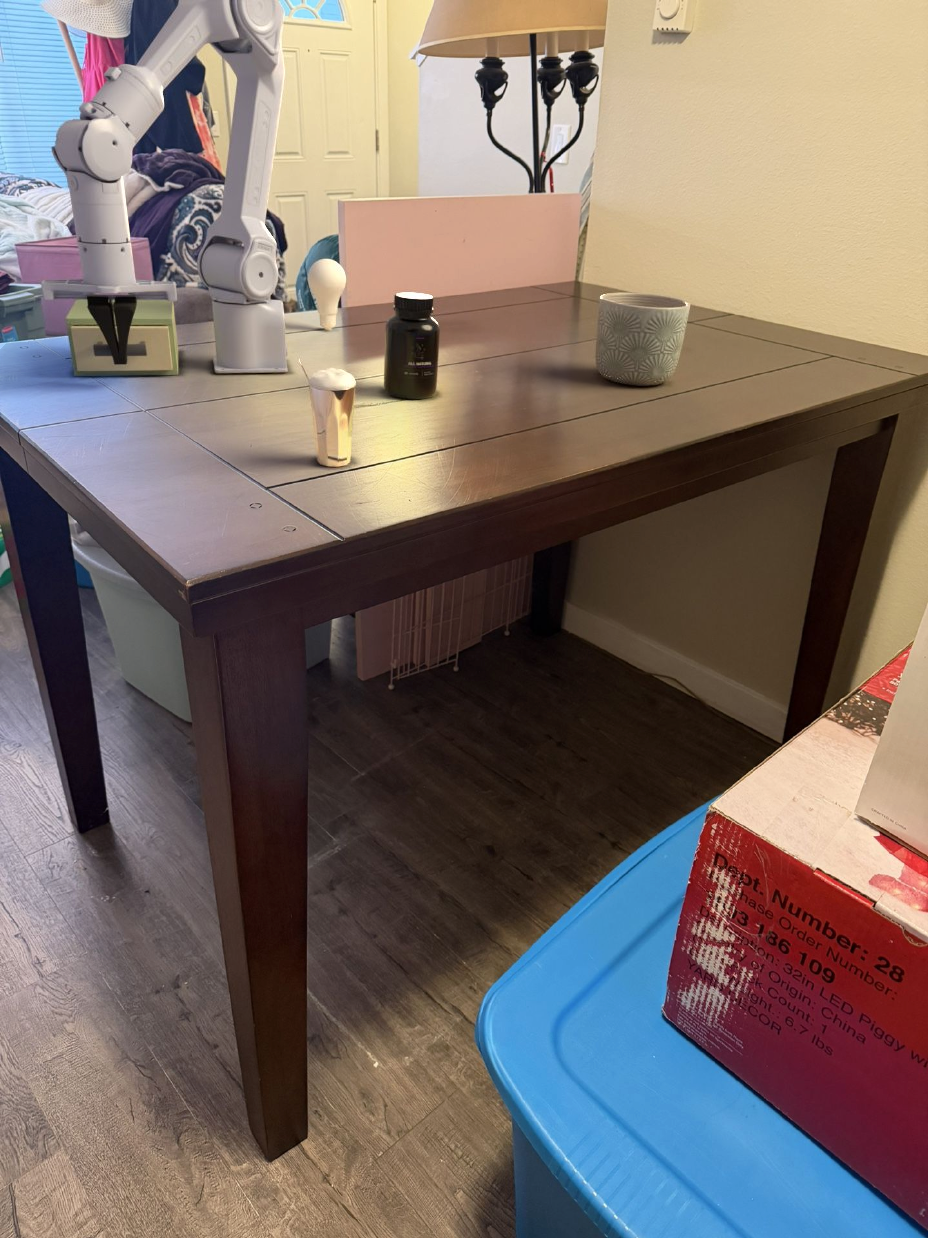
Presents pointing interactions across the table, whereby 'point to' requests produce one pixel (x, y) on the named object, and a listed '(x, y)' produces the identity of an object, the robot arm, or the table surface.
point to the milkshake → (332, 414)
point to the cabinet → (144, 315)
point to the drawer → (143, 349)
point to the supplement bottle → (411, 348)
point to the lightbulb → (327, 289)
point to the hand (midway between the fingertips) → (120, 362)
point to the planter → (639, 337)
